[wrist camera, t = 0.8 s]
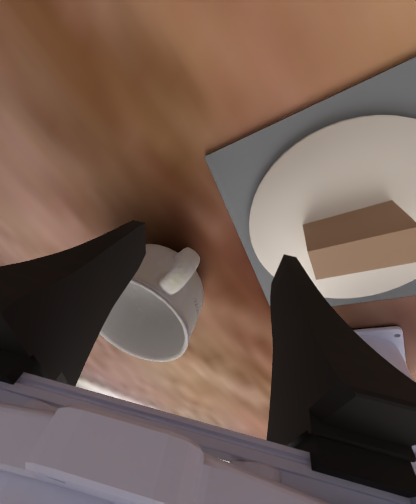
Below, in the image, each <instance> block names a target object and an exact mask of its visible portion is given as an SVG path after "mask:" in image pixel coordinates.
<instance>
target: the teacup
mask: <svg viewBox="0 0 416 504" xmlns="http://www.w3.org/2000/svg"><path fill="white" fill-rule="evenodd" d="M199 263H200V257H199V255H198V254H197V253H196V252H195V251H194V250H192V249H191V248H188V247H187V248H184V249H183V250H182V251H180V252H179V253H177V252H176V251H174V250H172V249H170V248H167V247H164V246H161V245H156V244H146V255H145V257H144V259H143V261H142V263H141V265H140V267H139V269H138V271H137V272H136V274H135V275H134V277H133V278H132V280H131V281H130V283H129V284H128V286H127V287H126V288H125V290H124V291H123V293H122V294H121V296H120V297H119V299H118V300H117V302H116V303H115V305H114V307H113V308H112V310H111V312H110V314H109V316H108V318H107V319H106V321H105V323H104V325H103V327H102V329H101V331H100V333H99V334H100V335H101V336H103V337H104V338H105V339H106V340H107V341H108V342H109V343H110V344H112V345H114V346H116V347H117V348H119V349H120V350H122V351H124V352H126V353H128V354H130V355H132V356H135V357H138V358H141V359H145V360H149V361H156V362H165V361H172V360H175V359H177V358H179V357H180V356H182V354H183V353H184V352H185V351H186V349H187V347H188V344H189V338H190V336H191V334H192V331H193V329H194V327H195V324H196V322H197V319H198V316H199V313H200V310H201V307H202V303H203V286H202V282H201V279H200V277H199V275H198V273H197V271H196V269H197V267H198V265H199Z"/></svg>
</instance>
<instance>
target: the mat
mask: <svg viewBox="0 0 416 504" xmlns="http://www.w3.org/2000/svg"><path fill="white" fill-rule="evenodd" d="M368 115H397V116H402V117H408V118H414V119H416V57H414V58H412V59H409V60H407V61H405V62H403V63H401V64H399V65H397V66H395V67H392V68H390V69H388V70H386V71H384V72H382V73H380V74H378V75H376V76H373V77H371V78H369V79H367V80H365V81H363V82H361V83H359V84H356V85H354V86H352V87H350V88H348V89H346V90H344V91H342V92H340V93H337V94H335V95H333V96H331V97H329V98H327V99H325V100H323V101H321V102H318V103H316V104H314V105H312V106H310V107H308V108H306V109H304V110H301V111H299V112H297V113H295V114H293V115H291V116H289V117H287V118H285V119H282V120H280V121H278V122H276V123H274V124H272V125H270V126H268V127H265V128H263V129H261V130H259V131H257V132H255V133H253V134H251V135H249V136H246V137H244V138H242V139H240V140H238V141H236V142H234V143H232V144H229V145H227V146H225V147H223V148H221V149H219V150H217V151H215V152H213V153H210V154H208V155H206V156H205V160H206V162H207V164H208V166H209V169H210V171H211V173H212V176H213V178H214V180H215V182H216V185H217V187H218V189H219V191H220V194H221V196H222V198H223V201H224V203H225V205H226V207H227V210H228V212H229V214H230V217H231V219H232V221H233V223H234V226H235V228H236V230H237V232H238V235H239V237H240V239H241V242H242V244H243V246H244V248H245V251H246V253H247V255H248V258H249V260H250V262H251V264H252V267H253V269H254V271H255V273H256V276H257V278H258V280H259V283H260V285H261V287H262V289H263V292H264V294H265V296H266V299H267V301H268V303H269V305H270V293H271V283H272V280H273V278H274V276H272V275H271V274H270V273H269V272H268V271H267V270H266V269H265V268H264V266H263V265H262V264H261V262H260V261H259V259H258V257H257V255H256V253H255V252H254V249H253V246H252V243H251V238H250V233H249V218H250V211H251V206H252V203H253V199H254V196H255V193H256V191H257V189H258V186H259V184H260V183H261V181H262V179H263V177H264V176H265V174H266V173H267V171H268V170H269V169H270V167H271V166H272V165H273V164H274V162H275V161H276V160H277V159H278V158H279V157H280V156H281V155H282V154H283V153H284V152H285V151H287V150H288V149H289V148H290V147H292V146H293V145H294V144H295V143H297V142H298V141H300V140H301V139H303V138H304V137H306V136H307V135H309V134H311V133H313V132H315V131H317V130H319V129H321V128H323V127H325V126H328V125H331V124H333V123H336V122H339V121H342V120H346V119H350V118H355V117H359V116H368ZM408 296H416V279H415V280H413V281H411V282H409V283H407V284H405V285H402V286H400V287H398V288H395V289H392V290H389V291H387V292H383V293H379V294H375V295H371V296H365V297H358V298H339V299H336V298H325V299H326V301H327V302H328V303H329V304H330V306H338V305H346V304H354V303H362V302H369V301H377V300H385V299H393V298H400V297H408Z"/></svg>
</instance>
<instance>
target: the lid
mask: <svg viewBox="0 0 416 504" xmlns="http://www.w3.org/2000/svg"><path fill="white" fill-rule="evenodd" d="M249 233H250V238H251V243H252V246H253V249H254V252H255V253H256V255H257V257H258V259H259V261H260V262H261V264H262V265H263V266H264V268H265V269H266V270H267V271H268V272H269V273H270V274H271V275H272V276H275V273H276V271H277V269H278V267H279V264H280V262H281V260H282V257H283V255H284V254H285V255H289V256H294V257H297V259H298V260H299V262H300V263H301V265H302V266H303V268H304V270H305V271H306V273H307V274H308V276H309V277H310V279H311V280H312V282H313V283H314V285H315V286H316V287H317V289H318V290H319V291H320V293H321V294H322V295H323V297H324V298H336V299H339V298H358V297H365V296H371V295H375V294H379V293H383V292H387V291H389V290H392V289H395V288H398V287H400V286H402V285H405V284H407V283H409V282H411V281H413V280H415V279H416V119H414V118H408V117H402V116H397V115H368V116H359V117H355V118H350V119H346V120H342V121H339V122H336V123H333V124H331V125H328V126H325V127H323V128H321V129H319V130H317V131H315V132H313V133H311V134H309V135H307V136H306V137H304V138H303V139H301V140H300V141H298V142H297V143H295V144H294V145H293V146H292V147H290V148H289V149H288V150H287V151H285V152H284V153H283V154H282V155H281V156H280V157H279V158H278V159H277V160H276V161H275V162H274V164H273V165H272V166H271V167H270V169H269V170H268V171H267V173H266V174H265V176H264V177H263V179H262V181H261V183H260V184H259V186H258V189H257V191H256V193H255V196H254V199H253V203H252V206H251V211H250V218H249Z"/></svg>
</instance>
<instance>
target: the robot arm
mask: <svg viewBox="0 0 416 504" xmlns="http://www.w3.org/2000/svg"><path fill="white" fill-rule="evenodd" d="M145 255H146V242H145V223H143V222H138V221H134V220H133V221H131V222H129V223H126V224H124V225H122V226H120V227H118V228H116V229H114V230H112V231H110V232H108V233H106V234H104V235H102V236H100V237H97V238H95V239H93V240H90V241H88V242H86V243H83V244H81V245H79V246H76V247H73V248H71V249H68V250H65V251H62V252H59V253H55V254H52V255H48V256H45V257H41V258H37V259H34V260H30V261H25V262H21V263H16V264H11V265H6V266H0V504H416V382H414V380H413V378H412V376H411V374H410V372H409V369H408V367H407V365H406V358H405V349H404V339H403V331H402V329H401V328H400V327H398V326H392V327H381V328H369V329H358V330H352V329H351V328H350V327H349V326H348V325H347V324H346V322H345V321H344V320H343V319H342V318H341V317H340V316H339V315H338V314H337V313H336V311H335V310H334V309H333V308H332V307H331V306H330V304H329V303H328V302H327V301H326V299H325V298H324V297H323V295H322V294H321V293H320V291H319V290H318V289H317V287H316V286H315V285H314V283H313V282H312V280H311V279H310V277H309V276H308V274H307V273H306V271H305V270H304V268H303V266H302V265H301V263H300V262H299V260H298V259H297V257H294V256H289V255H285V254H284V255H283V257H282V260H281V262H280V264H279V267H278V269H277V271H276V273H275V276H274V278H273V280H272V283H271V293H270V308H271V323H272V337H273V363H272V383H271V397H270V411H269V421H268V432H267V440H263V439H260V438H256V437H253V436H249V435H246V434H242V433H239V432H235V431H231V430H228V429H224V428H221V427H217V426H214V425H210V424H207V423H203V422H199V421H196V420H192V419H189V418H185V417H182V416H178V415H175V414H171V413H167V412H164V411H160V410H157V409H153V408H150V407H146V406H143V405H139V404H135V403H132V402H128V401H125V400H121V399H118V398H114V397H111V396H107V395H103V394H100V393H96V392H93V391H89V390H86V389H82V388H79V387H75V386H76V383H77V381H78V379H79V376H80V374H81V372H82V369H83V367H84V365H85V362H86V360H87V358H88V356H89V354H90V352H91V350H92V347H93V345H94V343H95V341H96V339H97V337H98V335H99V333H100V331H101V329H102V327H103V325H104V323H105V321H106V319H107V318H108V316H109V314H110V312H111V310H112V308H113V307H114V305H115V303H116V302H117V300H118V299H119V297H120V296H121V294H122V293H123V291H124V290H125V288H126V287H127V286H128V284H129V283H130V281H131V280H132V278H133V277H134V275H135V274H136V272H137V271H138V269H139V267H140V265H141V263H142V261H143V259H144V257H145ZM218 458H219V459H218ZM221 459H222V460H221ZM223 460H226V461H229V462H230V463H228V462H226V461H223Z"/></svg>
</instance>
